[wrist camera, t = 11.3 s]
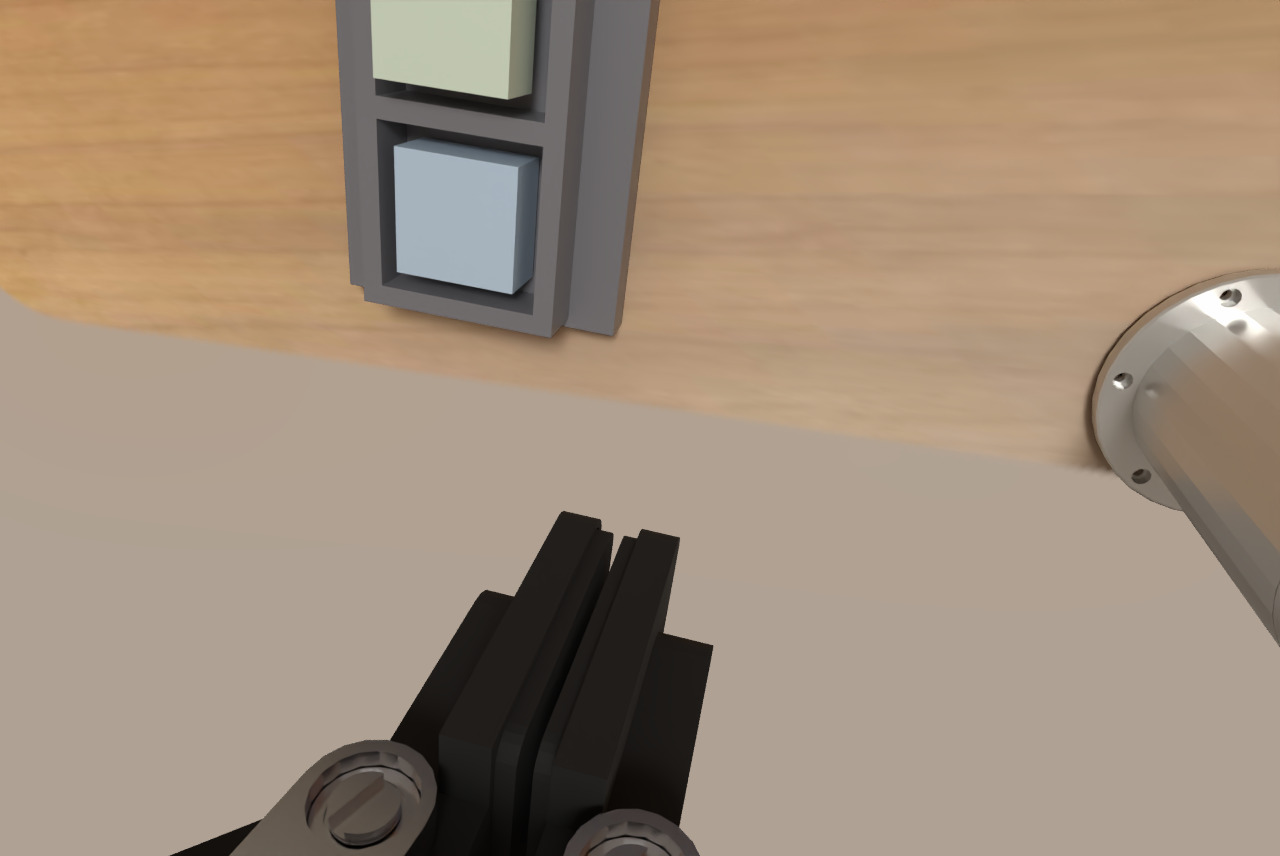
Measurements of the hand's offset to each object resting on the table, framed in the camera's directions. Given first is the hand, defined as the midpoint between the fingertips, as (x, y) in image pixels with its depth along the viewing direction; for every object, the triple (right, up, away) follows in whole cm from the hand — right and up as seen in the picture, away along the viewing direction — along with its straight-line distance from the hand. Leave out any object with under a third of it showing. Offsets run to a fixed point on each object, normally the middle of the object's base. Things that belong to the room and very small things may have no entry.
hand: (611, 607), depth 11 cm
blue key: (-8, +14, +29) cm, 33 cm away
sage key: (-7, +21, +23) cm, 32 cm away
